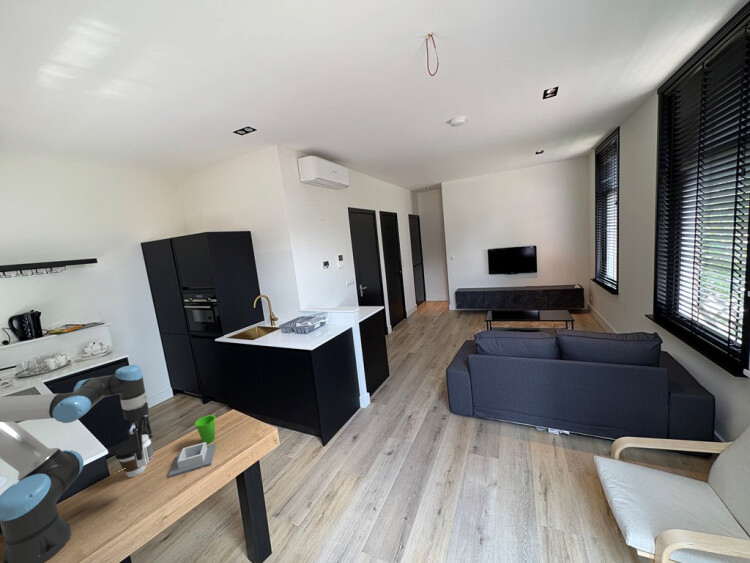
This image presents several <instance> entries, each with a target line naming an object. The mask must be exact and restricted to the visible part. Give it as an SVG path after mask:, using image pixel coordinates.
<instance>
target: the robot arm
mask: <svg viewBox="0 0 750 563" xmlns="http://www.w3.org/2000/svg"><path fill="white" fill-rule="evenodd" d="M114 373H115V374H111V375H104V376H98V377H89V378H87V379H82V380H79V381H78V382H76V384H75V386H74V388H73V391H72V392H67V393H66V392H64V393H62V392H61V393H47V394H44V393H43V394H26V395H12V396H11V395H10V396H8V395H7V396H0V459H1V460H2V461H3V462H5V463H6V464H7V465H8V466H11V468H13V469H14V470H15V471H17V472H18V474H17V475H18V476H17V482H16V483H14V484H12V485H11V486H9V487H7V488H6V489H5V490H4V491H3V492H2V493H1V494H0V529H1V532H2V535H3V539H4V542H5V550H4V555H3V558H2V563H46V562H47V561H48V560H50V559H51V558H52V557H54V556H55V555H56V554H57V553H59V552H60V551H61V550H62V549H63V548H64V547H65V546H66V545H65V543H66V542H67V541H68V540H69V541H70V539H71V538H70V536H71V537H72V535H71V533H72V534H73V530H72V528H71V525H70V524H69V523H68V522H67V521H66V520H65V519H64V518H62V517H61V516H60V514H59V510H58V506H57V502H58V500H59V499H60V498H61V497H62V495H63V494H64V493H65V492H66V491H67V490H68V489H69V488H70V486H71V485H72V484H73V483H75V481H76V480H77V479H78V477H79V475H80V474H81V472H82V471H83V468H84V459H83V457H82V455H81V454H80V453H79V452H77V451H76V450H74V449H73V450H72V449H71V450H67V449H65V450H61V449H60V448H58V447H53V448H49V447H47V446H46V445H45V444H44V443H43V442H41V441H40V440H38V439H37V438H36V437H34V435H32V434H31V433H30V432H28V431H27V430H25V428H23V427H22V426H21V425H20V424H18V423H16V422H24V421H33V420H36V421H37V420H47V419H48V420H49V419H54V420H55V421H57V422H60V423H62V424H69V423H73V422H75V421H77V420H79V419H81V418H82V417H83V416H84V415H86V414H87V413H88V412H89V411H90V410H91V409H92V408H94V406H95V405H97V403H99V402H100V401H101V400H103V398H107V397H111V396H116V395H119V399H120V405H121V409H122V413H123V415H122V416H123V418H124V420H125V421H130V422H129V427H130V429H127V431H126V433H127V435H128V439H129V443H130V447H131V453H132V454H135V455H136V460H137V466H138V467H142V466H146V467H147V461H146V456H145V451H144V449H143V445H142V435H148V437H149V440H150V441H151V439H152V438H153V436H154V435H153V432H152V428H151V423H150V418H149V403H148V399H147V398H148V394H146V388H145V382H144V375H143V372H142V368H141V366H140V365H139V364H130V365H127V366H122V367H119V368H118V369H116V371H115V372H114ZM69 538H70V539H69ZM69 541H68V542H69ZM68 542H67V543H68ZM67 543H66V544H67ZM64 545H65V546H64ZM63 546H64V547H63ZM62 547H63V548H62ZM61 548H62V549H61ZM60 549H61V550H60ZM59 550H60V551H59ZM58 551H59V552H58ZM56 552H57V553H56ZM54 554H55V555H54ZM53 555H54V556H53Z"/></svg>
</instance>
